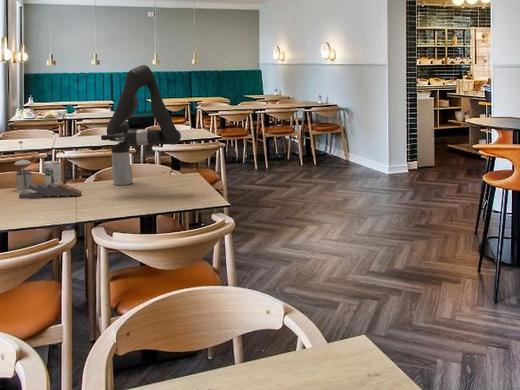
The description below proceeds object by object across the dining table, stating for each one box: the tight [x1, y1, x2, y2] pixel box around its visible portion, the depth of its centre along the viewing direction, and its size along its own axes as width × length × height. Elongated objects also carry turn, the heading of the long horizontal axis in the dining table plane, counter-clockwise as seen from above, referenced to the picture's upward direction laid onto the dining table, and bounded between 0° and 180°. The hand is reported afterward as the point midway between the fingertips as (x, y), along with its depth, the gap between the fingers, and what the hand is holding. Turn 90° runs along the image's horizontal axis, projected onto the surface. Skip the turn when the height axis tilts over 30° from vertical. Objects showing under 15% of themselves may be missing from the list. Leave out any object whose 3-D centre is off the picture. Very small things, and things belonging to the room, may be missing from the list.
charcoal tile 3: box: [37, 182, 63, 198], centre depth 270 cm, size 2×5×11 cm
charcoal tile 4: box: [28, 182, 54, 198], centre depth 269 cm, size 2×5×11 cm
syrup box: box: [43, 160, 62, 185], centre depth 285 cm, size 6×6×14 cm
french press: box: [13, 140, 34, 192], centre depth 284 cm, size 10×12×25 cm
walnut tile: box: [56, 181, 83, 198], centre depth 271 cm, size 2×5×11 cm
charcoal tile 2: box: [47, 183, 72, 198], centre depth 270 cm, size 2×5×11 cm
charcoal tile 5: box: [18, 191, 46, 199], centre depth 270 cm, size 2×5×11 cm
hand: (101, 137), depth 266 cm, fingers closed
